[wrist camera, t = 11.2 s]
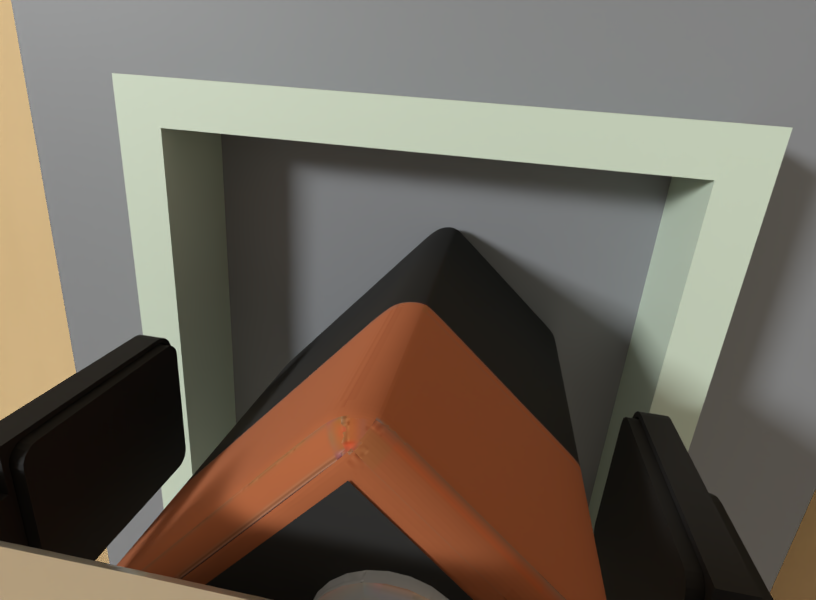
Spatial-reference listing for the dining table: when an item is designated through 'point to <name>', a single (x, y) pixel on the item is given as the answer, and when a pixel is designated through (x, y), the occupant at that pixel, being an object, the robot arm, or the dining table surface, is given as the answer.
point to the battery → (398, 457)
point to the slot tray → (453, 202)
